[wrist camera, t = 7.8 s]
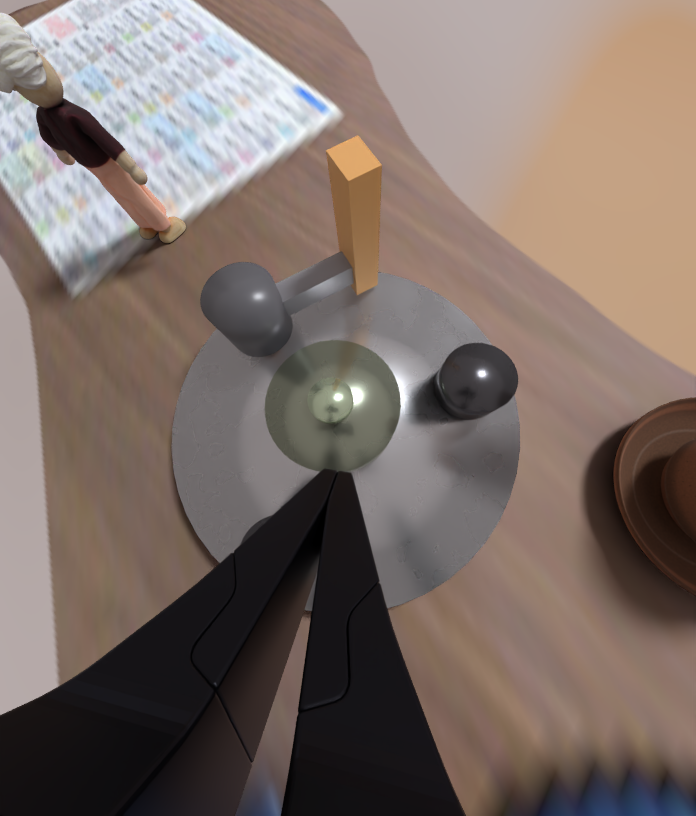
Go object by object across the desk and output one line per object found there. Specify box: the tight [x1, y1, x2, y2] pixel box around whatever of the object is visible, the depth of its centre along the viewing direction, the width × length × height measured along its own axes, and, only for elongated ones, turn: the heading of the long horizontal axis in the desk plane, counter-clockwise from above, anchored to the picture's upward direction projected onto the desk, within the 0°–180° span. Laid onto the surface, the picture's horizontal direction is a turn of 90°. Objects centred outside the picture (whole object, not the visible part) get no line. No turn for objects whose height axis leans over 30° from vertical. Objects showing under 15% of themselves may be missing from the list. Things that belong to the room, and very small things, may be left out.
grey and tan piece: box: [200, 136, 382, 357], centre depth 17 cm, size 12×5×8 cm, turn 118°
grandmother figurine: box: [0, 13, 186, 243], centre depth 21 cm, size 8×4×13 cm, turn 81°
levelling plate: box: [172, 272, 520, 611], centre depth 18 cm, size 24×24×5 cm
